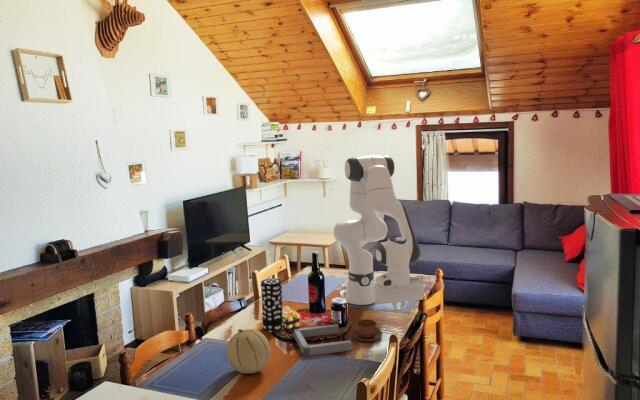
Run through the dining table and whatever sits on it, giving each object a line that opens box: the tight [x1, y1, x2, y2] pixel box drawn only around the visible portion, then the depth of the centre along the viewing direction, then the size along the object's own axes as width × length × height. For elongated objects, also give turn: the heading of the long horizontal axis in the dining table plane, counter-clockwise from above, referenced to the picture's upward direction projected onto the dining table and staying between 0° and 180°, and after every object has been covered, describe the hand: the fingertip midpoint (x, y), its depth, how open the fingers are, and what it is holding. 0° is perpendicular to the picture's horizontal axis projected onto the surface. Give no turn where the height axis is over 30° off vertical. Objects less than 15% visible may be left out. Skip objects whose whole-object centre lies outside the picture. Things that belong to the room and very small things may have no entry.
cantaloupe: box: [226, 328, 272, 375], centre depth 179 cm, size 15×15×15 cm
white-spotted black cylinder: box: [260, 278, 284, 333], centre depth 216 cm, size 8×8×20 cm
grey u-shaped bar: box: [293, 323, 353, 357], centre depth 201 cm, size 19×18×3 cm
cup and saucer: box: [351, 318, 383, 342], centre depth 206 cm, size 12×12×6 cm
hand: (398, 312), depth 207 cm, fingers closed
